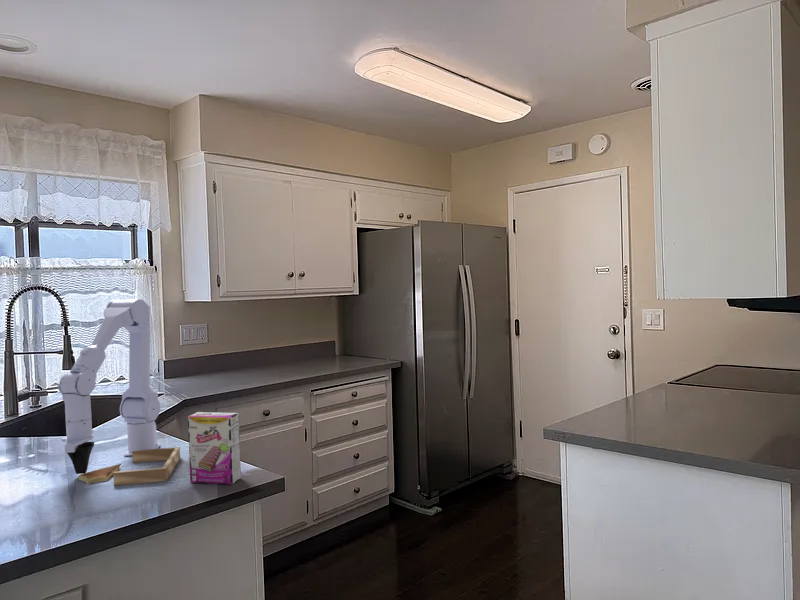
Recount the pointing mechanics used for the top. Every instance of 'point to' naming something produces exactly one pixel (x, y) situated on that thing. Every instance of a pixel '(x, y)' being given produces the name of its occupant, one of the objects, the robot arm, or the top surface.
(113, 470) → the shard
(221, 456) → the candy bar box
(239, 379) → the top surface
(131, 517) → the top surface
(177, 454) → the frame
